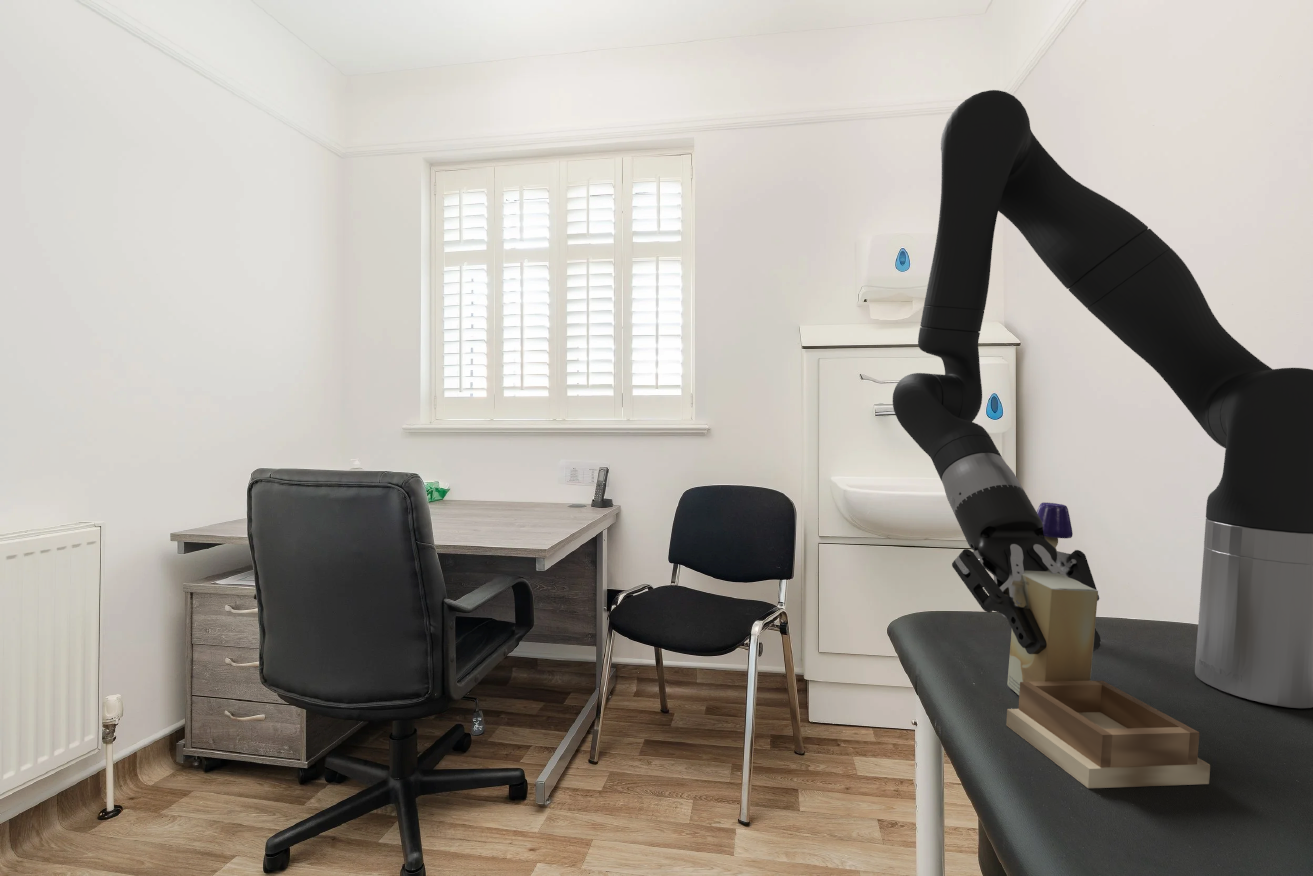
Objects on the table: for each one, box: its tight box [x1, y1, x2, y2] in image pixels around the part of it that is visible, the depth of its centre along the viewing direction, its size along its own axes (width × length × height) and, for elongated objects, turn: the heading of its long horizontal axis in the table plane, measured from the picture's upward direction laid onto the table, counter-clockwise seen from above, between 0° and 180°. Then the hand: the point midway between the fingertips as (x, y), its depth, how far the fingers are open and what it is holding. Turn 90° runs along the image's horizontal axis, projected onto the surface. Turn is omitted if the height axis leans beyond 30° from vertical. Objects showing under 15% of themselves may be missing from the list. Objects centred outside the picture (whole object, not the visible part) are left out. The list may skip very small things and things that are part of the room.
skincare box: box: [1007, 571, 1099, 696], centre depth 58 cm, size 6×4×12 cm
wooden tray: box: [1006, 680, 1211, 789], centre depth 50 cm, size 10×9×4 cm
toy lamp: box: [1036, 502, 1073, 551], centre depth 79 cm, size 5×5×17 cm
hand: (1064, 650), depth 56 cm, fingers closed on skincare box, 4 cm apart
